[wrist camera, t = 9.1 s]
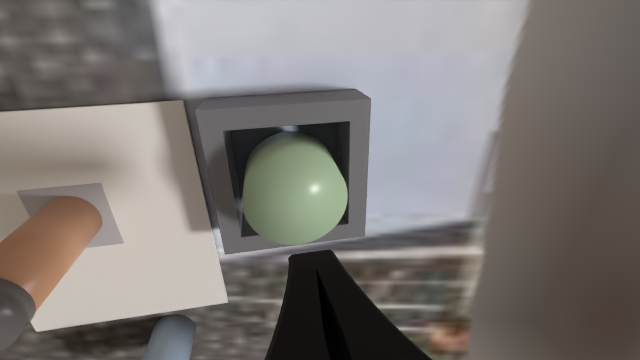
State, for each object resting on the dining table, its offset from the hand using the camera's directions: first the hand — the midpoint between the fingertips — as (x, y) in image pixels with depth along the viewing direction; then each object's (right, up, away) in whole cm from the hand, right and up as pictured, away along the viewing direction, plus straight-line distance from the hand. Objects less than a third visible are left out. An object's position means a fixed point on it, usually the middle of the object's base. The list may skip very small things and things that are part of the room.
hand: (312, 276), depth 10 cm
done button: (-1, +3, +7) cm, 8 cm away
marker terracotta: (-13, +1, +7) cm, 15 cm away
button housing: (-2, +4, +8) cm, 9 cm away
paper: (-12, 0, +8) cm, 15 cm away
